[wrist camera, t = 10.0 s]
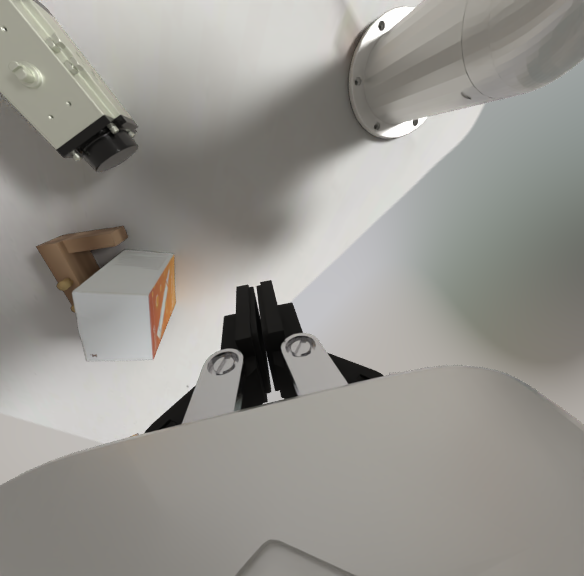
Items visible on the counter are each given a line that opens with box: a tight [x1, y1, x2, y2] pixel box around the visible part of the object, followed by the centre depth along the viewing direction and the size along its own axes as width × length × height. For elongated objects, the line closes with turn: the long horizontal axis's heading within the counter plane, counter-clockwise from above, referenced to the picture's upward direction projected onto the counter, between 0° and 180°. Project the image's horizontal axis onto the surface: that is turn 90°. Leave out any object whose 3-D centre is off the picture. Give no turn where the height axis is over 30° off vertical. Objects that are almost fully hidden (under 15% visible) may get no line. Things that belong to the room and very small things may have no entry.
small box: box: [72, 250, 176, 361], centre depth 30 cm, size 8×6×13 cm
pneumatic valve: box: [0, 0, 138, 172], centre depth 21 cm, size 6×12×12 cm, turn 31°
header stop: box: [36, 226, 128, 312], centre depth 32 cm, size 7×15×6 cm, turn 6°
